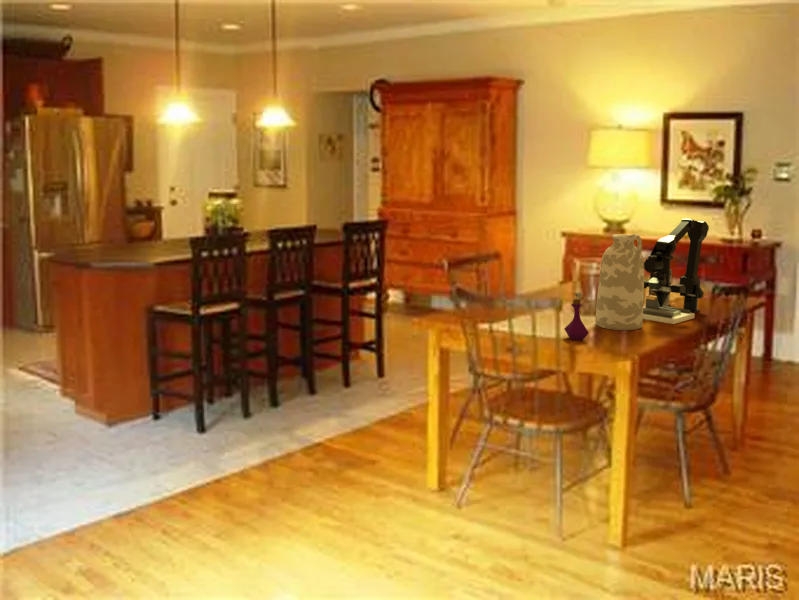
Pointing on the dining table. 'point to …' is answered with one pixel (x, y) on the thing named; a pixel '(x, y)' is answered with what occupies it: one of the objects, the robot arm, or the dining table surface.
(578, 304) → the perfume bottle
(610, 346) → the dining table surface
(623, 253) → the vase
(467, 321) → the dining table surface
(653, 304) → the lever
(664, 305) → the coffee box
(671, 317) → the panel
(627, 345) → the dining table surface
